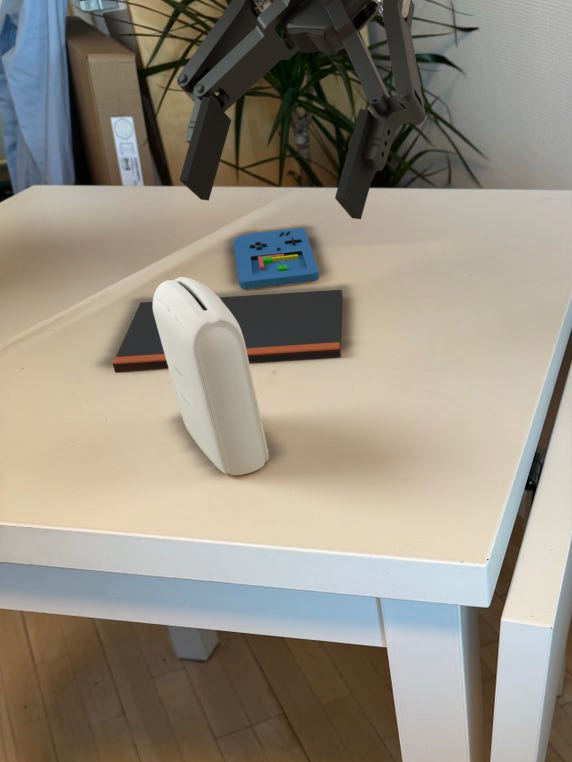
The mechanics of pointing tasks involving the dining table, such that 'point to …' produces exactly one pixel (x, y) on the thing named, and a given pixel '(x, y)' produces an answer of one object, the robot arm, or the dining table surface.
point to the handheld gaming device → (274, 258)
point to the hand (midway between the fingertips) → (268, 200)
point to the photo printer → (210, 375)
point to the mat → (252, 329)
